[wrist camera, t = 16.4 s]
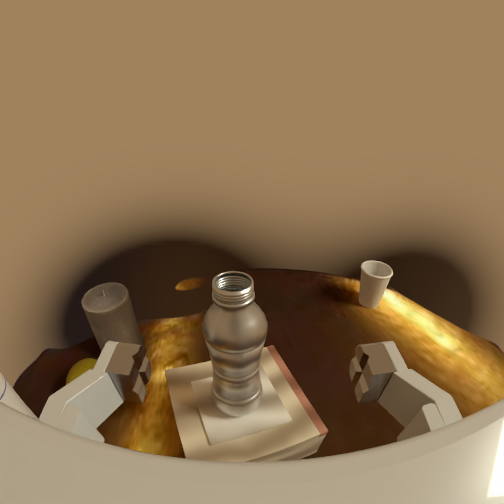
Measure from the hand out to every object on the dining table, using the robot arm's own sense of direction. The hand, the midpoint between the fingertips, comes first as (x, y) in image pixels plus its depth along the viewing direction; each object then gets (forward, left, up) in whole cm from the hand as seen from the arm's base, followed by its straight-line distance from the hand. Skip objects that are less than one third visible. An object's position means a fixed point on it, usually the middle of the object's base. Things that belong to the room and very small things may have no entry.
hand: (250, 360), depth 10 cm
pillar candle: (+38, +14, -34) cm, 53 cm away
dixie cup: (+34, -46, -34) cm, 67 cm away
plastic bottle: (+14, -3, -26) cm, 30 cm away
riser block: (+14, -4, -34) cm, 37 cm away
